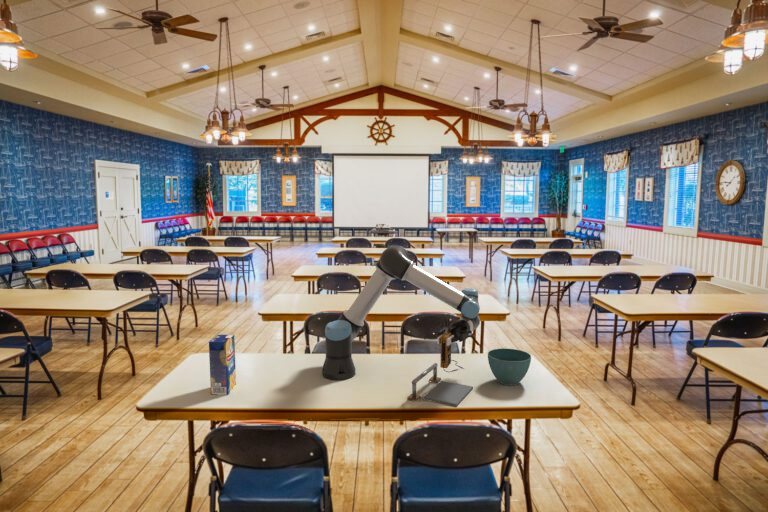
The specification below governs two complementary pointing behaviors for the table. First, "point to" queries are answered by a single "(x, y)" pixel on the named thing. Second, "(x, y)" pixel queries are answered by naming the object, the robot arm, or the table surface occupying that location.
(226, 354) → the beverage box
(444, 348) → the multimeter
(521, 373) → the teal bowl
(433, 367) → the bent rod hurdle
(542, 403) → the table surface
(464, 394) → the mat
